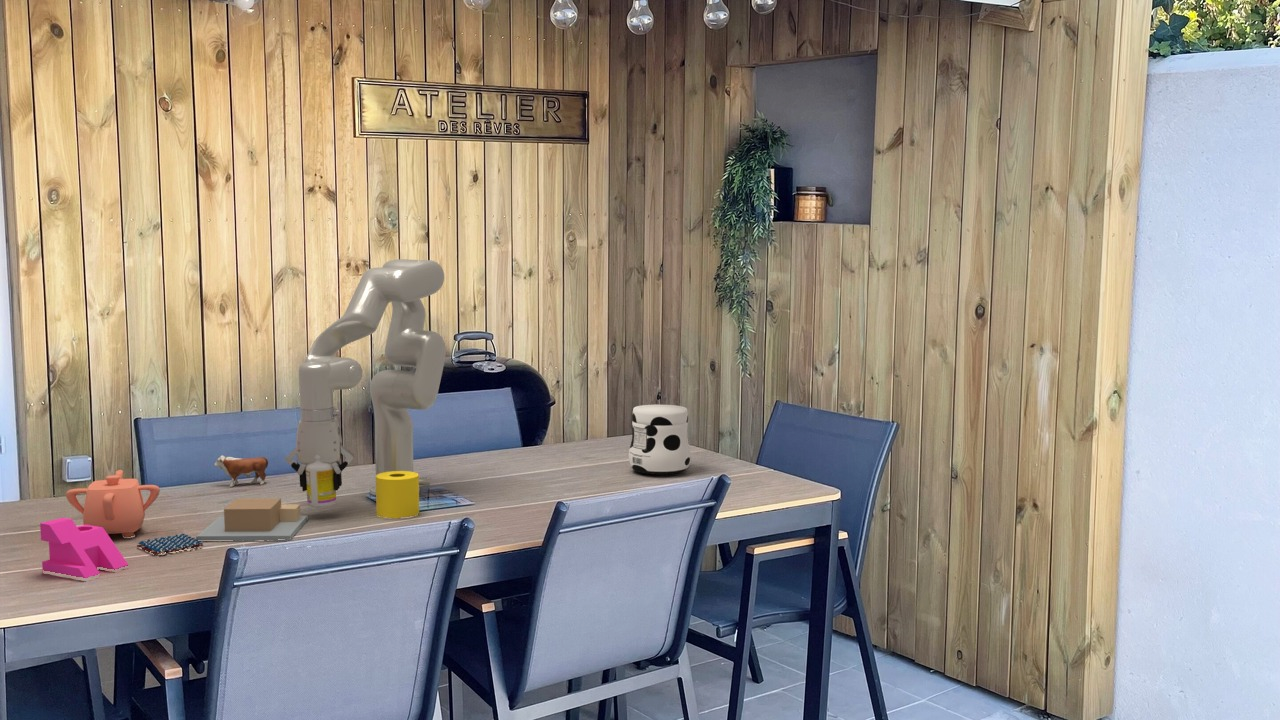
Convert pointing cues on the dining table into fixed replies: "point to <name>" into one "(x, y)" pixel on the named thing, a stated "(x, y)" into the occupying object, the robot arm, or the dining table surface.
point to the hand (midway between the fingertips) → (321, 488)
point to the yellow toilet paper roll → (397, 494)
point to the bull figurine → (243, 468)
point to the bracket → (78, 549)
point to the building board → (251, 535)
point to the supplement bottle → (320, 484)
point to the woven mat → (169, 544)
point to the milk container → (659, 439)
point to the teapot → (114, 504)
